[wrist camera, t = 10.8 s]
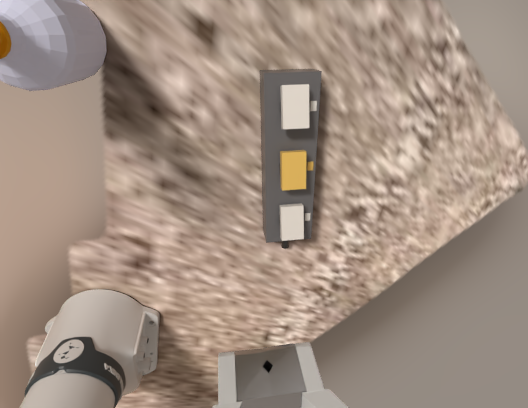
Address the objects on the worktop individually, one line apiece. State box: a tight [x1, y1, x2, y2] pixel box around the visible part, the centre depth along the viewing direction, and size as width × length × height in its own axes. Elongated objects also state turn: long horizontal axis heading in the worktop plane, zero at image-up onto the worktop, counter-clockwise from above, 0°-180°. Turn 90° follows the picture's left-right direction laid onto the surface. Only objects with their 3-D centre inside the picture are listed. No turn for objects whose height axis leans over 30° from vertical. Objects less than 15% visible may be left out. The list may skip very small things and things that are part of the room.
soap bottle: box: [0, 0, 107, 91], centre depth 26 cm, size 9×9×25 cm
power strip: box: [260, 69, 322, 249], centre depth 46 cm, size 27×7×5 cm, turn 1°
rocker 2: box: [280, 150, 306, 191], centre depth 42 cm, size 5×3×1 cm, turn 1°
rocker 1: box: [280, 84, 309, 129], centre depth 38 cm, size 5×3×1 cm, turn 1°
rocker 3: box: [280, 203, 304, 241], centre depth 45 cm, size 5×3×1 cm, turn 1°
